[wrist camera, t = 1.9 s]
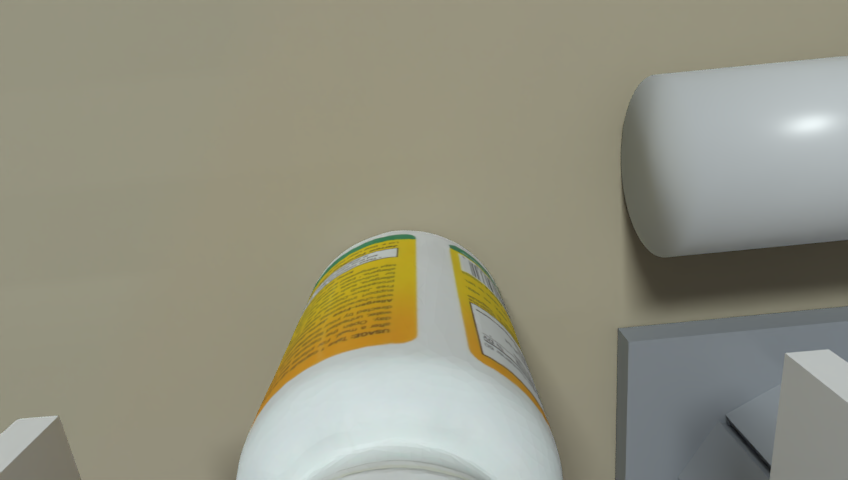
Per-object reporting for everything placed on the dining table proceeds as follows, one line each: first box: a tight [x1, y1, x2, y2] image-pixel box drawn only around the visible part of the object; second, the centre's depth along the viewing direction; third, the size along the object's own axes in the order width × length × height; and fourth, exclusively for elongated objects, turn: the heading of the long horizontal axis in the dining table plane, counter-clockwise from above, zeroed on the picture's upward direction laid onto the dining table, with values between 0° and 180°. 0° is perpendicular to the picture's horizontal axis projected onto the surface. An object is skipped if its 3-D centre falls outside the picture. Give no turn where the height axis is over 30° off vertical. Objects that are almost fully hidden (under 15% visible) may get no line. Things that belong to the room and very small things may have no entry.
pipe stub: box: [621, 56, 848, 257], centre depth 12 cm, size 8×4×4 cm, turn 95°
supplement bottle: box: [236, 230, 563, 480], centre depth 11 cm, size 5×5×10 cm
